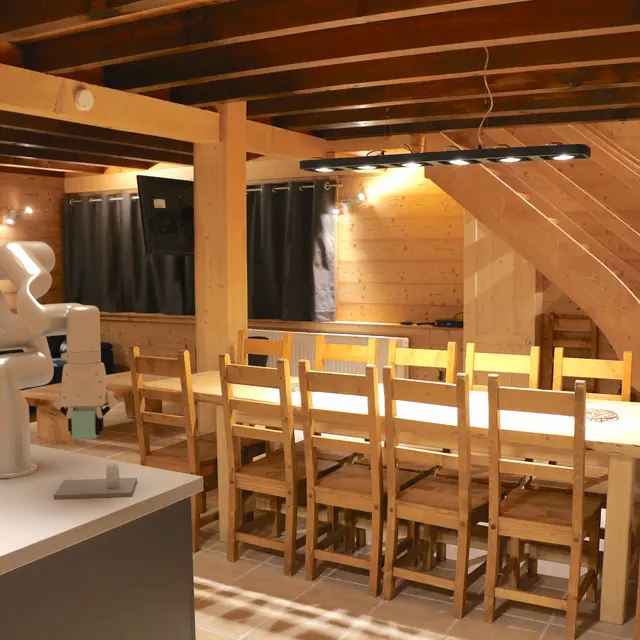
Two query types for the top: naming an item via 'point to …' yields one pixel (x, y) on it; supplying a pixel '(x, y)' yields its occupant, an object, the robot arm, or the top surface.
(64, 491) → the stand board
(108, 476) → the post
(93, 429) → the sage green cube
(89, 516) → the top surface
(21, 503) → the top surface
